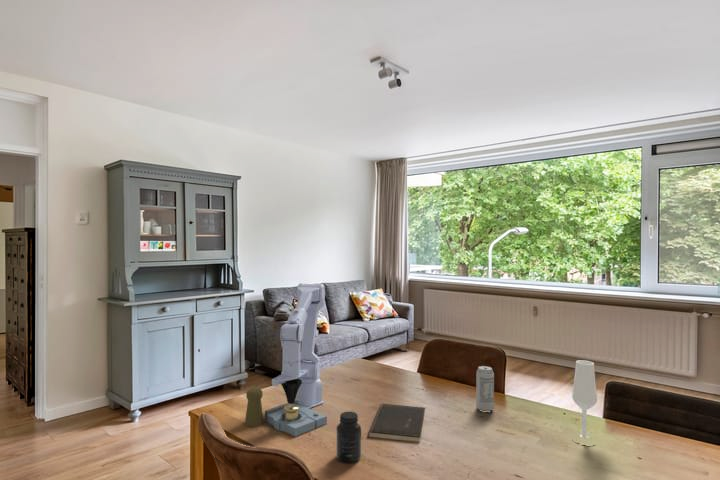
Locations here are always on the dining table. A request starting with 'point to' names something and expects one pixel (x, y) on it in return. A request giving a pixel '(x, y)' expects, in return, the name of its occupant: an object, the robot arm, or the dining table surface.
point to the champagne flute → (584, 389)
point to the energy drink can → (485, 388)
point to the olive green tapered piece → (254, 408)
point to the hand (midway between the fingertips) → (291, 402)
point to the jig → (304, 423)
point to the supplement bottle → (348, 438)
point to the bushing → (291, 412)
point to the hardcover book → (398, 422)
